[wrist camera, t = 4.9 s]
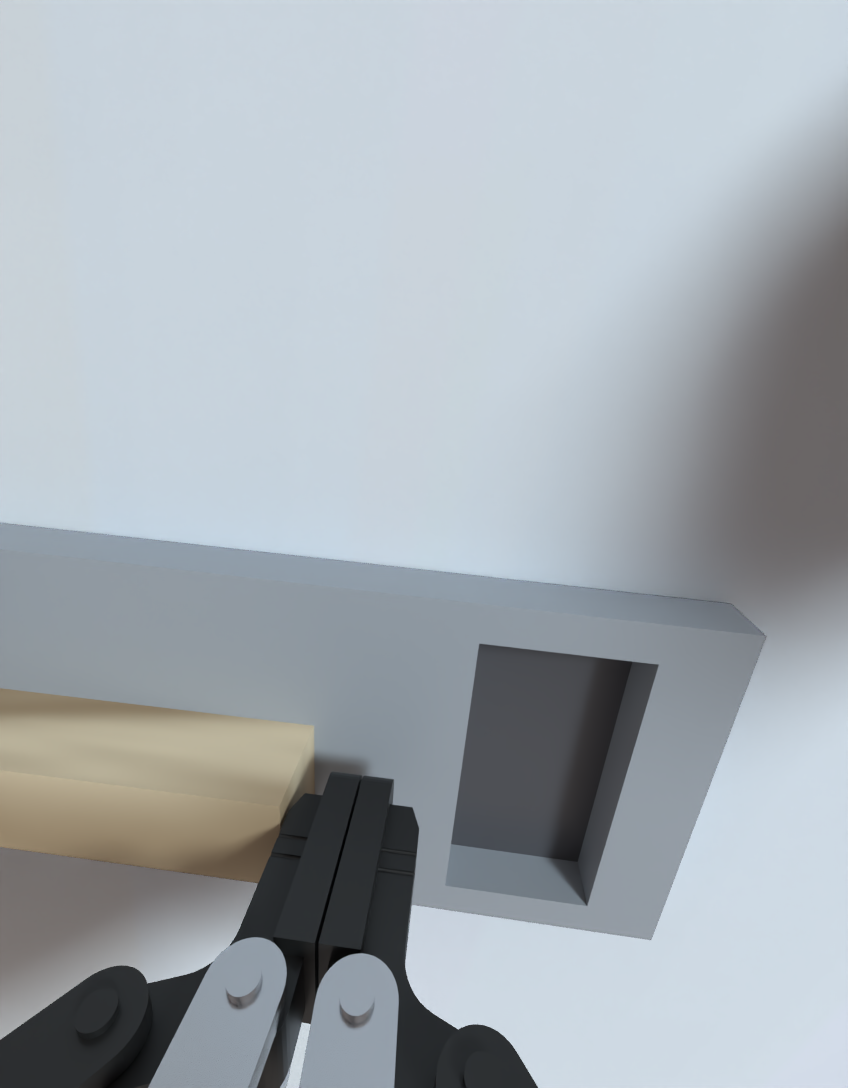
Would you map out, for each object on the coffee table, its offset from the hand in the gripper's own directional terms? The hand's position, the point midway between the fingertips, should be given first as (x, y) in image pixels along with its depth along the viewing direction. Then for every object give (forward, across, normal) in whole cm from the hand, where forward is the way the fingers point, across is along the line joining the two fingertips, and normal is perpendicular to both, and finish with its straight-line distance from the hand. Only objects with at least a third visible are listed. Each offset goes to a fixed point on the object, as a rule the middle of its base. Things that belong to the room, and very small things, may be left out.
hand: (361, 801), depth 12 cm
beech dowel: (+1, +10, 0) cm, 11 cm away
